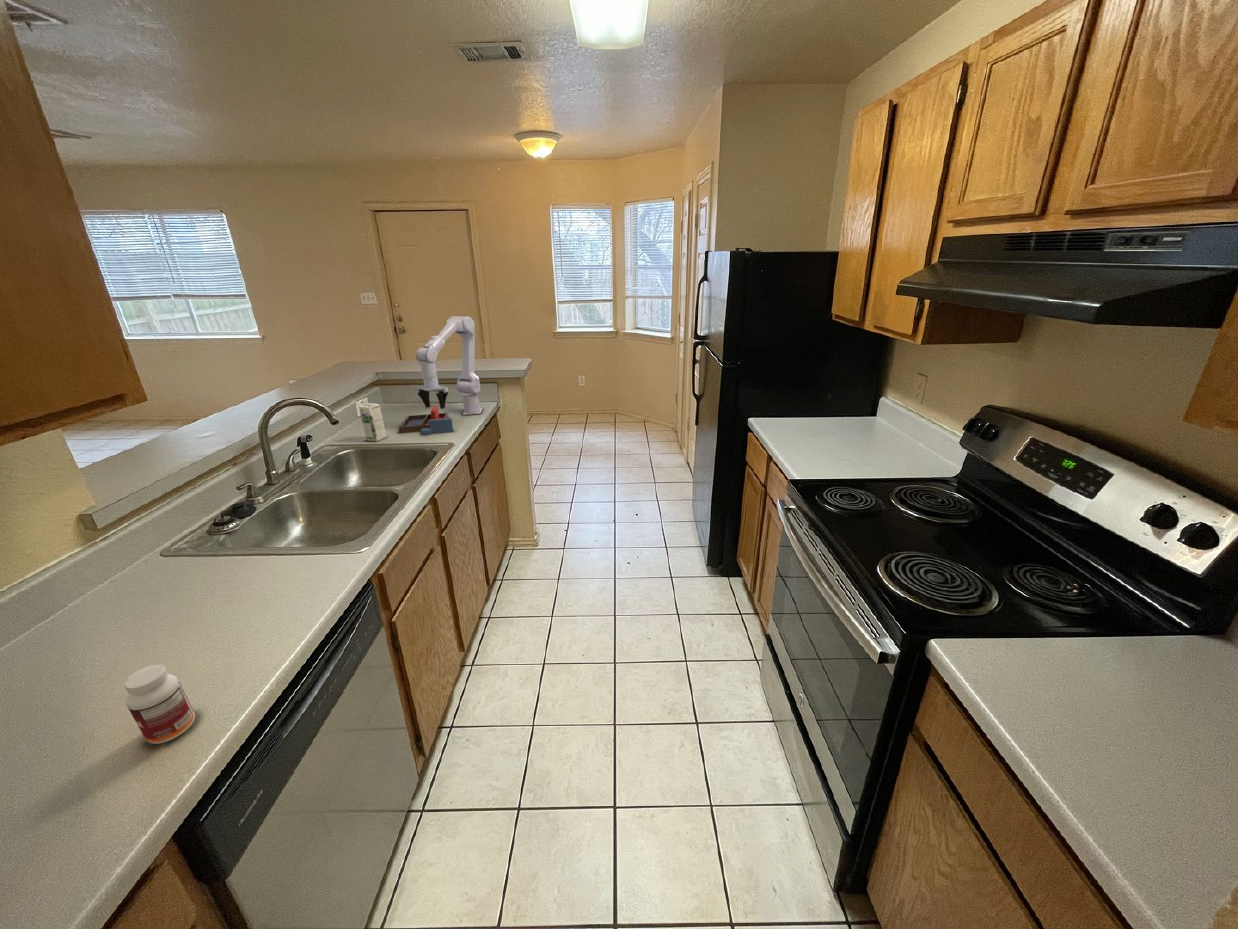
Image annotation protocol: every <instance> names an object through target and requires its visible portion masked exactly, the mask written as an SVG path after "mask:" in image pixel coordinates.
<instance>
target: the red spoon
mask: <svg viewBox="0 0 1238 929" xmlns="http://www.w3.org/2000/svg"><path fill="white" fill-rule="evenodd" d="M430 414H431V417H432V420H433V419H439V406H437V405H435V406H433V407H432V409H431V410H430ZM428 425H429V421H428Z"/></svg>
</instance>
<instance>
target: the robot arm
mask: <svg viewBox="0 0 1238 929" xmlns="http://www.w3.org/2000/svg"><path fill="white" fill-rule="evenodd" d="M454 333H455V334H457V335H459V336H460V337H461V343H462V344H461V350H462V351H461V356H462V357H461V374H459V375H458V377H457V382H456V389H457V391H458V392H459V393H460V395H461V398H462V405H463V412H462V415H463V416H467V415H470V416H471V415H480V414H481V413H482V407H481V406H480V401H479V394H480V391H481V383H480V378H479V376H478V375H477V374H475V356H476V354H475V352H476V351H475V350H476V349H475V346H476V344H475V343H476V341H475V340H476V339H475V338H476V336H475V335H476V334H475V321H474V320H473V319H472V317H471V316H455V315H451V316H450V317H449V318H448V319H447V320H446V324H445V326H444V327H443V328H442V330H441V331H440V332H439V334H438V335H432V336H431V337H430V339H429V341H427V343H425V344H424V346H423V347H419V348H418V349H417V350H416V352H415V353H416V354H415V359H416V360H417V361H418V363H419V366H420V370H421V374H422V375H421V376H422V380H423V385H417V386H415V387H416V392H417V395H418V396H419V398H420V399H421V400H422V403H423V404H424V406H425V408H426V409H428V408H430V407H431V400H430V393H431V392H437V393H435V395H436V397H437V400H438V404H439V408H440V409H441V410H444V409H445V408H446V402H447V401H446V400H447V397H448V395H449V387H448V386H442V385H440V384H439V379H438V373H437V367H436V362H435V361H437V359H438V356H439V353H440V351H441V350H442V349H443V348H445V343H446V341H447V340H448V339H449V338H450V337H451V336H452V335H453V334H454Z"/></svg>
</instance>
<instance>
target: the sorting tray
mask: <svg viewBox="0 0 1238 929" xmlns="http://www.w3.org/2000/svg"><path fill="white" fill-rule="evenodd" d="M446 418H450V417H449V412H441V413H439V419H446ZM429 420H432V417H431V413H428V414H427V413H425V414H415V415H407V416H406V417H405V419H403V421H402V422H401V424H400V425H399V426H398V430H399V434H403V433H404V434H405V433H415V432H416V433H418V432H421V429H423V428H430V425H428V421H429Z"/></svg>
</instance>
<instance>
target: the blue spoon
mask: <svg viewBox="0 0 1238 929" xmlns="http://www.w3.org/2000/svg"><path fill="white" fill-rule="evenodd" d="M429 425H430V428H423V429H421V431H420V433H421V435H422V436H427V435H432V434H442V433H453V432H454V424H453V419H452V417H449V418H446V419H433V420H429Z"/></svg>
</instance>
